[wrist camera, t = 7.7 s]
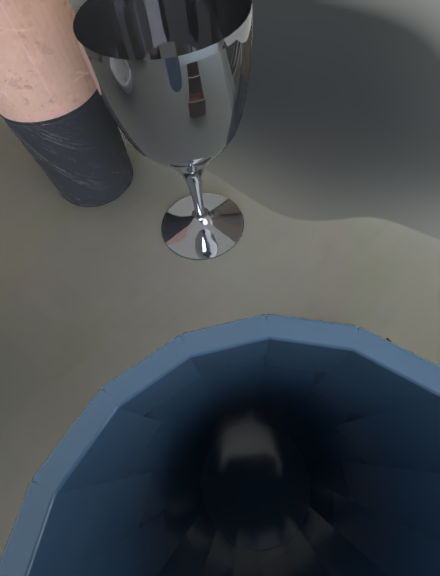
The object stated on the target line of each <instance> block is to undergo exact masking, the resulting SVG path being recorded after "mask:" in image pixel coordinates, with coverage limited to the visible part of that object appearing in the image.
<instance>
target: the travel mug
mask: <svg viewBox="0 0 440 576" xmlns="http://www.w3.org/2000/svg"><path fill="white" fill-rule="evenodd" d="M74 18H75V13H74V11H73V8H72V6H71V3H70V1H69V0H0V115H1V117H2V118H3V119H4V120H5V122H6V123H7V124H8V126H9V127H10V128H11V130H12V131H13V132H14V133H15V135H16V136H17V137H18V139H19V140H20V141H21V142H22V144H23V145H24V146H25V148H26V149H27V150H28V151H29V153H30V154H31V155H32V157H33V158H34V159H35V160H36V162H37V163H38V164H39V166H40V167H41V168H42V169H43V171H44V172H45V173H46V175H47V176H48V177H49V178H50V180H51V181H52V182H53V184H54V185H55V186H56V187H57V189H58V190H59V191H60V192H61V194H62V195H63V196H64V197H65V198H66V199H67V200H68V201H70V202H71V203H73V204H76V205H79V206H98V205H102V204H105V203H108V202H110V201H112V200H114V199H116V198H117V197H118V196H120V195H121V194H122V193H123V192H124V191H125V190H126V189H127V188H128V186H129V184H130V183H131V180H132V176H133V170H132V166H131V163H130V160H129V157H128V154H127V151H126V148H125V145H124V143H123V140H122V137H121V134H120V132H119V129H118V126H117V124H116V122H115V121H114V119H113V117H112V116H111V114H110V112H109V110H108V109H107V107H106V105H105V103H104V102H103V100H102V98H101V96H100V94H99V92H98V89H97V87H96V85H95V83H94V81H93V79H92V76H91V74H90V72H89V70H88V67H87V65H86V63H85V60H84V58H83V55H82V53H81V50H80V48H79V45H78V43H77V40H76V38H75V35H74V32H73V21H74Z"/></svg>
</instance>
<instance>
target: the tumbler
mask: <svg viewBox="0 0 440 576" xmlns="http://www.w3.org/2000/svg"><path fill="white" fill-rule="evenodd" d="M0 576H440V366H438V365H436V364H434V363H432V362H430V361H428V360H426V359H424V358H422V357H420V356H418V355H416V354H414V353H412V352H410V351H408V350H406V349H404V348H402V347H400V346H398V345H396V344H394V343H392V342H390V341H388V340H386V339H384V338H382V337H380V336H378V335H376V334H374V333H372V332H370V331H368V330H366V329H364V328H362V327H358V328H357V326H355V325H349V324H341V323H334V322H326V321H319V320H311V319H303V318H296V317H288V316H281V315H273V314H267V316H266V315H265V314H263V315H258V316H254V317H250V318H246V319H241V320H237V321H233V322H229V323H224V324H220V325H216V326H212V327H208V328H203V329H199V330H195V331H191V332H186V333H183V334H182V335H179V336H177V337H175V338H174V339H172V340H171V341H169V342H168V343H166V344H165V345H163V346H162V347H160V348H159V349H157V350H156V351H154V352H153V353H151V354H150V355H149V356H147V357H146V358H144V359H143V360H141V361H140V362H138V363H137V364H135V365H134V366H132V367H131V368H129V369H128V370H126V371H125V372H123V373H122V374H120V375H119V376H117V377H116V378H114V379H113V380H112V381H110V382H109V383H107V384H106V385H104V386H103V389H100V390H99V391H98V392H97V394H96V395H95V396H94V398H93V399H92V400H91V401H90V403H89V404H88V405H87V407H86V408H85V409H84V411H83V412H82V413H81V415H80V416H79V417H78V419H77V420H76V421H75V423H74V424H73V425H72V427H71V428H70V429H69V431H68V432H67V433H66V435H65V436H64V437H63V438H62V440H61V441H60V442H59V444H58V445H57V446H56V448H55V449H54V450H53V452H52V453H51V454H50V456H49V457H48V458H47V460H46V461H45V462H44V464H43V465H42V466H41V468H40V469H39V470H38V471H37V473H36V474H35V475H34V477H33V481H32V482H31V483H30V484H29V486H28V489H27V491H26V494H25V497H24V499H23V502H22V505H21V507H20V510H19V513H18V515H17V518H16V521H15V523H14V526H13V529H12V531H11V534H10V536H9V539H8V542H7V544H6V547H5V550H4V552H3V555H2V558H1V560H0Z"/></svg>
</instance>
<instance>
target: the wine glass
mask: <svg viewBox="0 0 440 576" xmlns="http://www.w3.org/2000/svg"><path fill="white" fill-rule="evenodd" d="M73 32H74V35H75V38H76V40H77V43H78V45H79V48H80V50H81V53H82V55H83V58H84V60H85V63H86V65H87V67H88V70H89V72H90V74H91V76H92V79H93V81H94V83H95V85H96V87H97V89H98V92H99V94H100V96H101V98H102V100H103V102H104V103H105V105H106V107H107V109H108V110H109V112H110V114H111V116H112V117H113V119H114V121H115V122H116V124H117V125H118V127H119V128H120V129H121V131H122V132H123V134H124V135H125V137H126V138H127V139H128V140H129V142H130V143H131V144H132V145H133V146H134V147H135V148H136V149H137V150H138V151H139V152H140V153H141V154H143V155H144V156H146V157H147V158H149V159H151V160H152V161H154V162H156V163H158V164H161V165H164V166H166V167H169V168H171V169H174V170H176V171H178V172H179V173H180V174H181V175H182V176H183V177H184V179H185V181H186V183H187V186H188V188H189V191H190V193H191V195H190V196H187V197H185V198H183V199H181V200H179V201H178V202H176V203H175V204H174V205H173V206H172V207H171V208H170V209H169V210H168V211H167V213H166V215H165V217H164V219H163V222H162V236H163V239H164V241H165V243H166V244H167V246H168V247H169V248H170V249H171V250H172V251H173V252H175V253H176V254H178V255H180V256H182V257H185V258H189V259H195V260H204V259H210V258H215V257H217V256H220V255H222V254H224V253H226V252H227V251H229V250H230V249H231V248H232V247H234V245H235V244H236V243H237V242H238V241H239V239H240V237H241V235H242V232H243V228H244V220H243V216H242V213H241V211H240V209H239V208H238V207H237V205H236V204H235V203H234V202H232V201H231V200H230V199H228V198H226V197H224V196H221V195H218V194H213V193H202V176H203V172H204V169H205V167H206V166H207V164H208V163H210V161H212V160H213V159H214V158H215V157H216V156H217V155H218V154H219V153H221V152H222V150H224V148H226V146H227V145H228V144H229V142H230V141H231V140H232V138H233V136H234V135H235V133H236V130H237V128H238V125H239V123H240V120H241V117H242V112H243V109H244V105H245V100H246V94H247V87H248V80H249V74H250V64H251V48H252V47H251V46H252V1H251V0H87V1H86V2H85V3H84V4H83V5H82V6H81V7H80V9H79V10H78V12H77V14H76V15H75V18H74V21H73Z"/></svg>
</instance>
